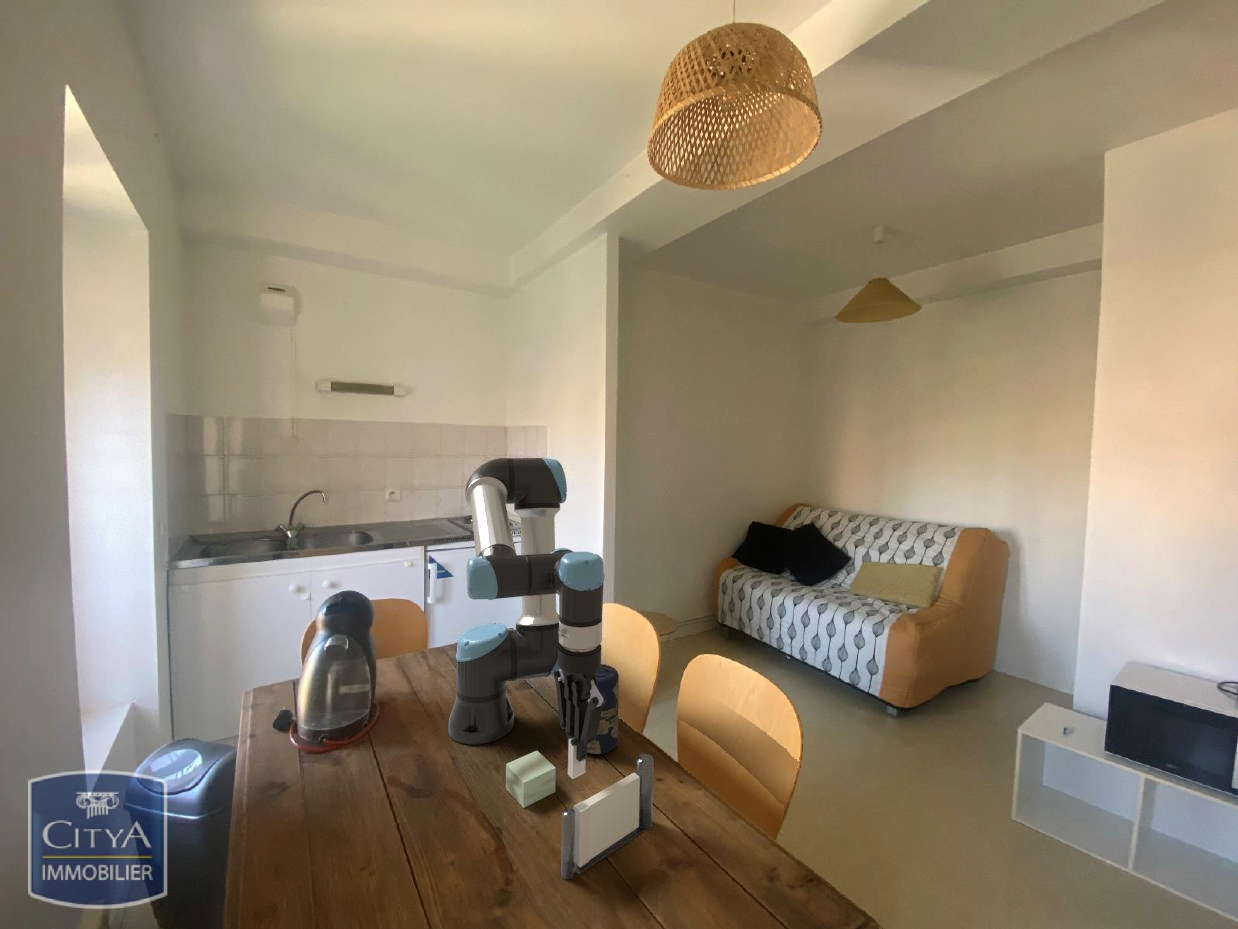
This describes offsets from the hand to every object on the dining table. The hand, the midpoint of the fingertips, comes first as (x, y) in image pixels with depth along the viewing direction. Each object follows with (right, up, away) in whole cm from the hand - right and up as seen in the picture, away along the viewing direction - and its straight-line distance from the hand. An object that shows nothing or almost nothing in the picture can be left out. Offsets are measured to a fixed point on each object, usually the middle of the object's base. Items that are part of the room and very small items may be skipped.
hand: (576, 773), depth 88 cm
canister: (+2, -9, +25) cm, 27 cm away
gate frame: (+6, -10, -4) cm, 12 cm away
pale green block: (-10, -10, +10) cm, 17 cm away
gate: (+6, -9, -4) cm, 11 cm away
